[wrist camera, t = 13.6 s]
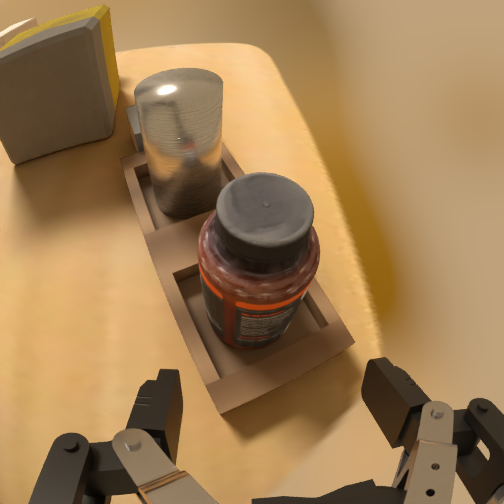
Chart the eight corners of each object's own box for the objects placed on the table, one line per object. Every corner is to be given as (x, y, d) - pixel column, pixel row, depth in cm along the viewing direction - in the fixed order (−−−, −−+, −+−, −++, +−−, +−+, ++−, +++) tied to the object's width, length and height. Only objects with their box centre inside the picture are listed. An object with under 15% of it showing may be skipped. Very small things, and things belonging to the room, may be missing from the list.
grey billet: (166, 228, 25) (143, 116, 15) (148, 182, 27) (128, 80, 18) (231, 205, 27) (237, 94, 17) (206, 164, 29) (204, 62, 20)
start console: (141, 164, 30) (132, 126, 26) (131, 135, 32) (124, 100, 28) (210, 143, 32) (210, 105, 28) (193, 117, 35) (191, 83, 31)
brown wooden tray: (343, 351, 21) (355, 342, 19) (220, 414, 18) (219, 414, 16) (214, 148, 32) (214, 130, 30) (125, 176, 29) (120, 158, 27)
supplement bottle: (306, 319, 22) (368, 223, 12) (239, 368, 19) (253, 303, 10) (256, 261, 24) (276, 142, 14) (190, 301, 22) (165, 190, 12)
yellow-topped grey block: (125, 66, 44) (117, -6, 31) (113, 139, 32) (89, 25, 19) (51, 86, 41) (35, 19, 28) (12, 169, 29) (-30, 75, 16)
